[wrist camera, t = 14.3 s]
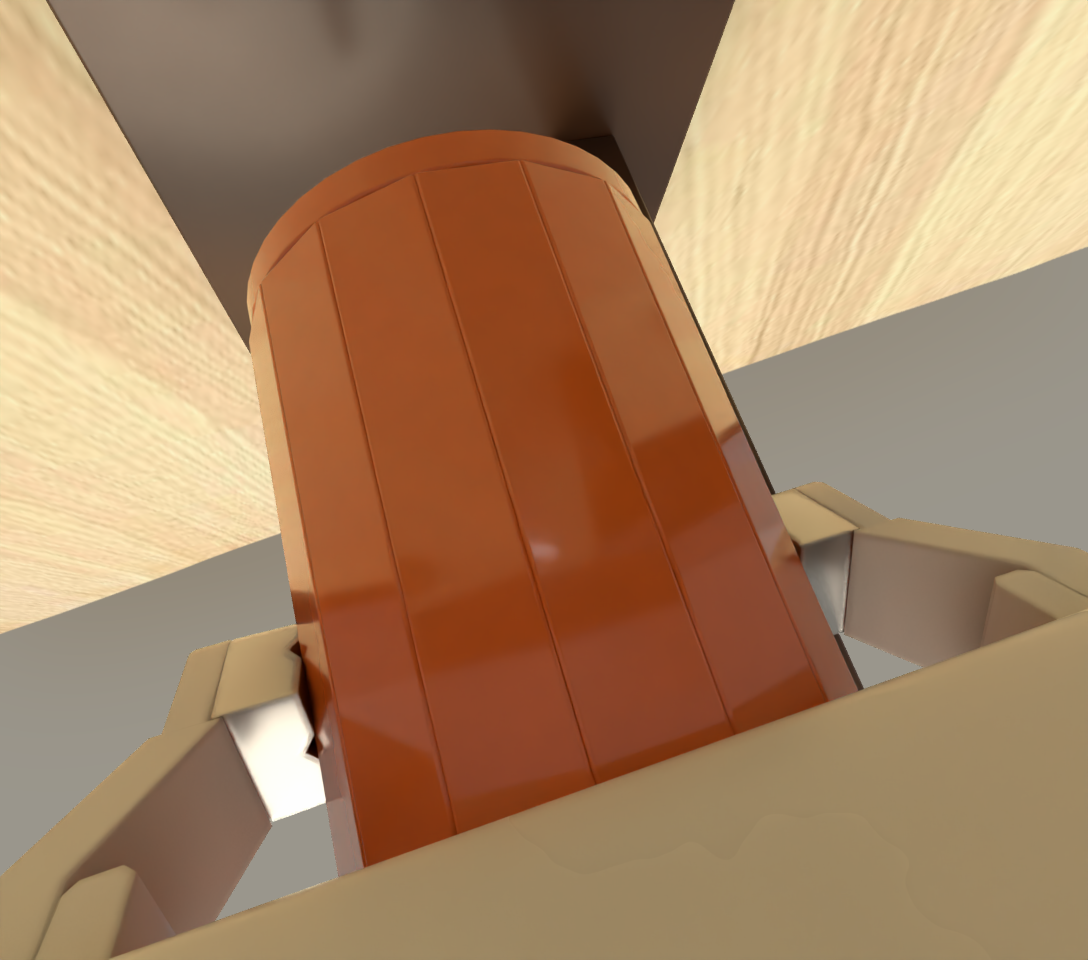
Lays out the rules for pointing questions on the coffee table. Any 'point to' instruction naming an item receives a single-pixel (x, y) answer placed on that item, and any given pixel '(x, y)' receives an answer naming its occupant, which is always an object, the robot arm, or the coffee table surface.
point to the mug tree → (381, 98)
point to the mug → (510, 493)
